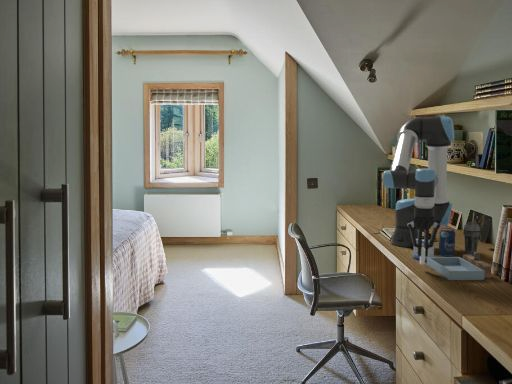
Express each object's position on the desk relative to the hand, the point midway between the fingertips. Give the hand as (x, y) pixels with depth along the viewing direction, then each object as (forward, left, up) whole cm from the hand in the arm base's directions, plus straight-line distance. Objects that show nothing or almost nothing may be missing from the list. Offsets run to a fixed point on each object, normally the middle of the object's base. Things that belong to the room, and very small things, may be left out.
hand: (422, 263), depth 205 cm
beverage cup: (-26, +33, -3) cm, 42 cm away
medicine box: (-19, +8, -3) cm, 21 cm away
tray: (+3, +12, -3) cm, 13 cm away
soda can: (-27, +22, -3) cm, 35 cm away
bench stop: (+3, +21, -3) cm, 22 cm away
